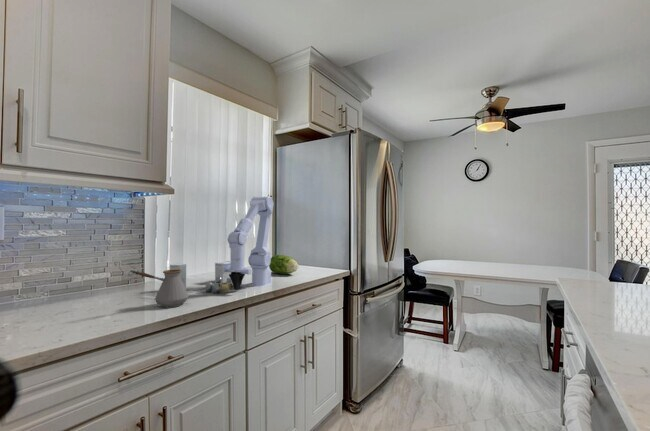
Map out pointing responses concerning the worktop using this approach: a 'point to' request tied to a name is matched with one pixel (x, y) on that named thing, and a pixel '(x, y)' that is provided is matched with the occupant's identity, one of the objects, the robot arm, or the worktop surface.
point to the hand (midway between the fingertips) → (237, 289)
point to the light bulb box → (219, 270)
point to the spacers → (217, 285)
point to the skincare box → (182, 273)
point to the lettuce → (283, 264)
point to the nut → (225, 286)
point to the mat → (220, 291)
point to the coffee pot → (169, 288)
